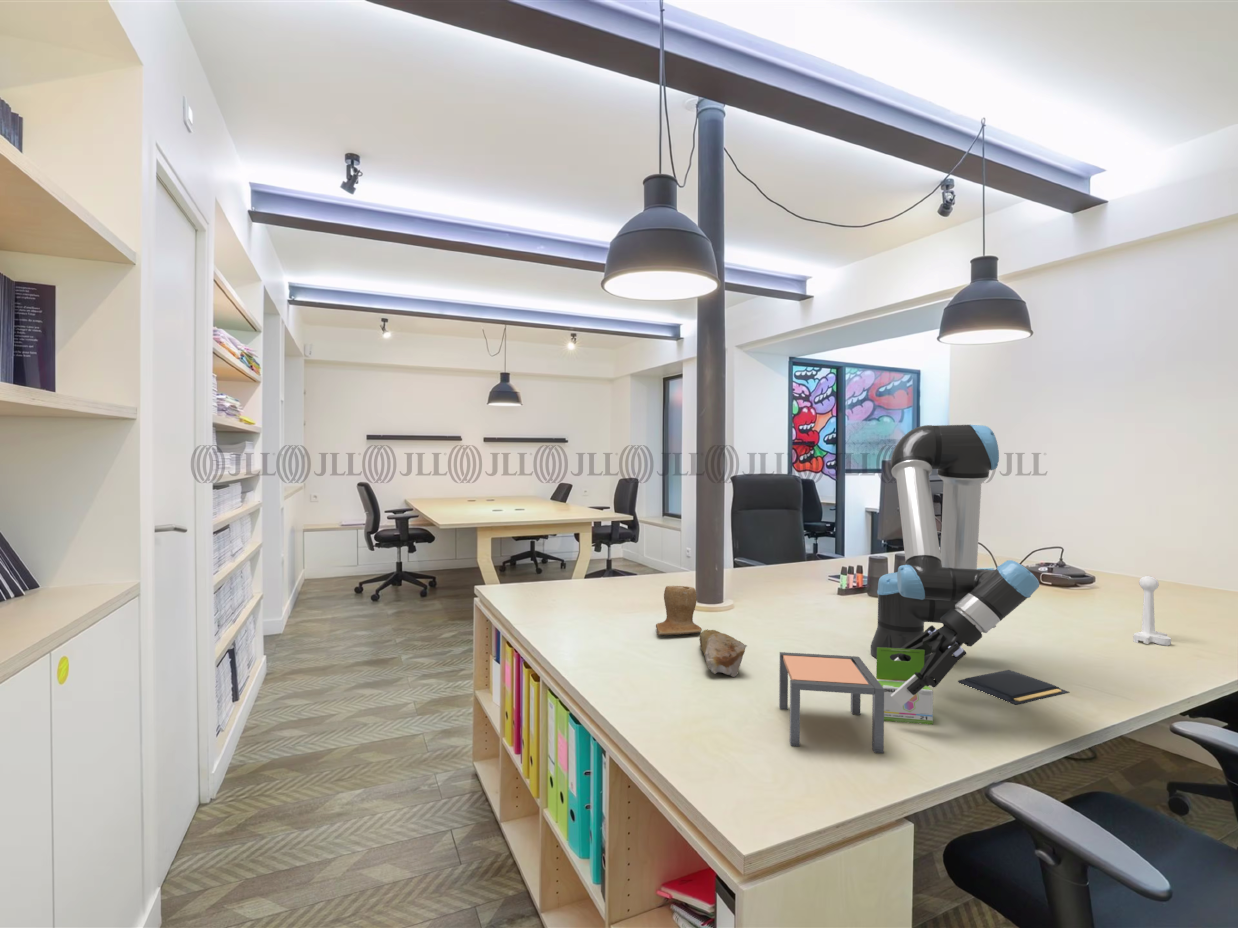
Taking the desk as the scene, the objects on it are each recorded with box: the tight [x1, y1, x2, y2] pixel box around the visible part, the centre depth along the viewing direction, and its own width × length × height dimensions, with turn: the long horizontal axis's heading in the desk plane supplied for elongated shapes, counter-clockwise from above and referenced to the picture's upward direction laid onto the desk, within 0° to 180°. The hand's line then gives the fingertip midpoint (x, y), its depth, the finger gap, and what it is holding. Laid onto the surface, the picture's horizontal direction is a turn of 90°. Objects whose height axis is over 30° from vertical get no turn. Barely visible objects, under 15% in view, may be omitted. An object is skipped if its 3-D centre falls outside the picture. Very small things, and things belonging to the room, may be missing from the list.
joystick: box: [1132, 575, 1172, 647], centre depth 174 cm, size 11×8×20 cm
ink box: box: [875, 647, 934, 725], centre depth 122 cm, size 10×5×14 cm, turn 80°
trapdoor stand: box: [778, 651, 885, 754], centre depth 116 cm, size 17×18×12 cm
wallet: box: [957, 669, 1070, 706], centre depth 139 cm, size 20×2×15 cm
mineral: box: [698, 629, 748, 678], centre depth 155 cm, size 26×9×10 cm
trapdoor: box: [783, 655, 869, 685], centre depth 117 cm, size 14×14×1 cm
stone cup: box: [655, 585, 703, 636], centre depth 181 cm, size 15×12×15 cm
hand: (887, 690), depth 122 cm, fingers open, 10 cm apart
